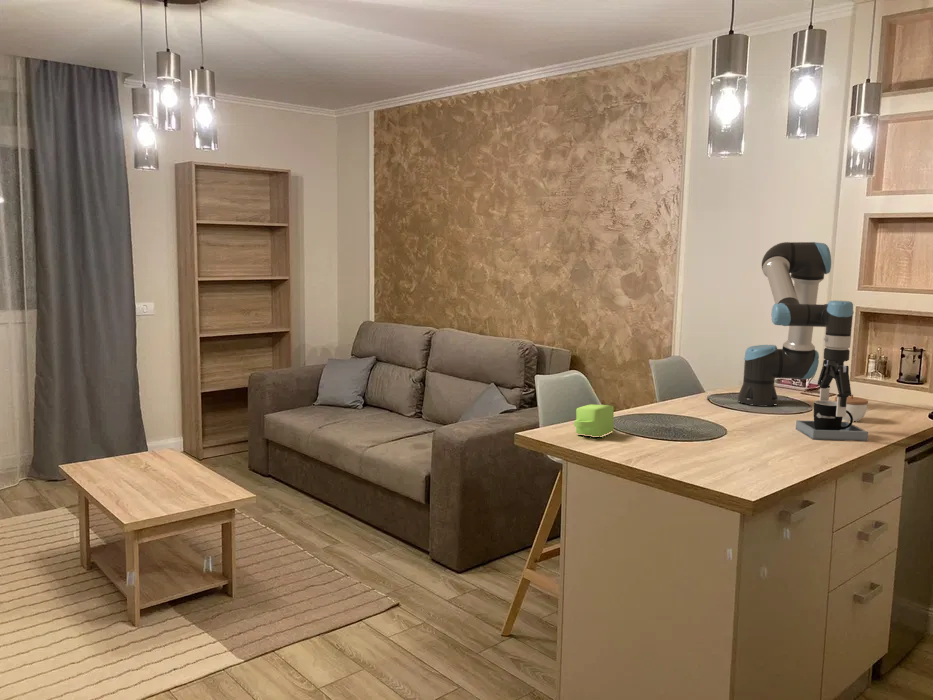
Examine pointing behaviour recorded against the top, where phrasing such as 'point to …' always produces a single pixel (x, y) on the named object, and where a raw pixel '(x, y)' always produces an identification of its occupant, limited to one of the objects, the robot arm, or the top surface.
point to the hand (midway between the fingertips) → (831, 411)
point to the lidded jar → (855, 408)
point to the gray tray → (831, 432)
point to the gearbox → (594, 419)
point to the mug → (828, 416)
